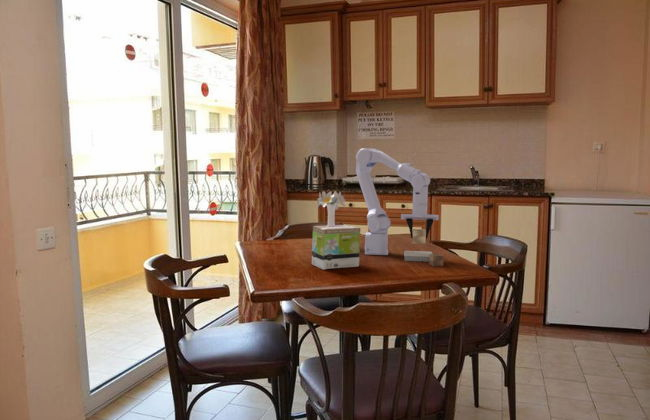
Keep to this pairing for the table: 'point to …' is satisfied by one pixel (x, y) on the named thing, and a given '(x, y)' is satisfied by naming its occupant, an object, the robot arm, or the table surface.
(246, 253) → the table surface
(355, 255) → the tea box
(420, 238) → the maple cube
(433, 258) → the walnut block
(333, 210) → the flower vase
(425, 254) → the plate
